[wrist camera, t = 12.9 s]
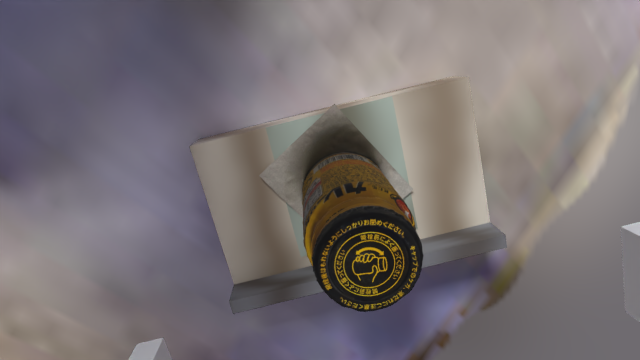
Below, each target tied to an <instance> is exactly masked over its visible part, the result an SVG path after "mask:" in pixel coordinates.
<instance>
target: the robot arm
mask: <svg viewBox="0 0 640 360" xmlns="http://www.w3.org/2000/svg"><path fill="white" fill-rule="evenodd" d="M621 240H622V258H623V277H624V296H625V312H627V313H628V314H629V315H631V316H632V317H633V318H635V319H636V320H637V321H639V322H640V222H638V223H634V224H630V225H625V226H622V227H621ZM128 360H172V358H171V355H170V353H169V350H168V348H167V345H166V343H165V340H164V338H159V339H155V340H151V341H147V342H143V343H139V344H137V345H136V347H135V349H134V350H133V352H132V354H131V356H130V358H129V359H128Z"/></svg>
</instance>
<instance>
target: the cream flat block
mask: <svg viewBox="0 0 640 360" xmlns="http://www.w3.org/2000/svg"><path fill="white" fill-rule="evenodd" d="M336 106H337V107H338V108H339V109H340V110H341V112H342V113H343V114H344V115H345V116H346V117H347V118H348V119H349V120H350V121H351V122H352V123H353V124H354V125H355V127H356V128H357V129H358V130H359V131H360V132H361V133H362V134H363V135H364V136H365V138H366V139H367V140H368V141H369V142H370V143H371V144H372V145H373V146H374V147H375V148H376V149H377V150H378V151H379V153H380V154H381V155H382V156H383V157H384V158H385V159H386V160H387V161H388V162H389V163H390V164H391V166H392V167H393V168H394V169H395V170H396V171H397V172H398V173H399V174H400V175H401V176H402V177H403V178H404V180H405V181H406V182H407V183H408V184H409V185H410V186H411V187H412V188H413V190H412V191H411V192H410V193H409V194H408V195H407V196H405V197H404V198H403V200H404V201H405V203H406V204H407V206H408V208H409V209H410V211H411V213H412V215H413V217H414V222H415V227H416V232H417V234H418V236H419V238H420V240H421V243H422V251H423V255H424V256H423V261H422V268H424V267H428V266H432V265H436V264H441V263H445V262H449V261H453V260H457V259H461V258H465V257H469V256H474V255H478V254H482V253H486V252H490V251H494V250H498V249H502V248H507V244H506V236H505V234H504V233H503V232H501V231H500V230H499V229H498V228H497V227H495V226H494V225H493V224H492V223H490V218H489V211H488V205H487V198H486V191H485V184H484V177H483V170H482V164H481V157H480V150H479V143H478V136H477V129H476V122H475V116H474V109H473V102H472V95H471V88H470V81H469V77H459V76H453V77H449V78H445V79H440V80H436V81H432V82H428V83H424V84H420V85H416V86H412V87H408V88H404V89H400V90H396V91H392V92H388V93H384V94H380V95H376V96H372V97H368V98H364V99H360V100H356V101H352V102H348V103H343V104H339V105H336ZM331 107H332V106H331ZM331 107H327V108H323V109H319V110H315V111H311V112H307V113H303V114H299V115H295V116H291V117H287V118H283V119H279V120H275V121H271V122H267V123H263V124H259V125H255V126H251V127H247V128H242V129H238V130H234V131H230V132H226V133H222V134H218V135H214V136H210V137H206V138H202V139H198V140H197V141H196V142H194V143H193V144H192V145H190V146H189V147H190V150H191V153H192V156H193V159H194V163H195V166H196V169H197V172H198V175H199V178H200V181H201V184H202V187H203V190H204V193H205V196H206V200H207V203H208V206H209V209H210V212H211V215H212V218H213V221H214V224H215V227H216V230H217V234H218V237H219V240H220V243H221V246H222V249H223V252H224V255H225V258H226V261H227V264H228V267H229V271H230V274H231V277H232V280H233V283H234V287H233V290H232V293H231V297H230V300H229V303H230V306H231V309H232V312H233V314H235V313H239V312H243V311H247V310H251V309H255V308H259V307H263V306H268V305H272V304H276V303H280V302H284V301H288V300H292V299H296V298H301V297H305V296H309V295H313V294H317V293H321V292H324V291H323V289H321V287H320V285H319V283H318V282H317V281H316V279H317V278H316V277H315V273H314V272H313V267H312V265H311V263H310V260H309V258H308V257H307V253H306V249H305V247H304V242H303V240H304V237H303V218H302V217H301V216H300V215H299V214H298V213H297V212H296V211H295V210H294V209H293V208H292V207H291V206H290V205H289V204H288V203H287V202H286V201H285V200H284V199H283V198H281V197H280V196H279V195H278V194H277V193H276V192H275V191H274V190H273V189H272V188H271V187H270V186H269V185H268V184H267V183H266V182H265V181H264V180H263V179H262V178H261V177H260V176H259V175H260V174H261V173H262V172H263V171H264V170H265V169H266V168H267V167H269V166H270V165H271V164H272V163H273V162H274V161H275V160H276V159H277V158H278V157H279V156H280V155H281V154H282V153H283V152H284V151H285V150H286V149H287V148H288V147H289V146H290V145H291V144H292V143H294V142H295V141H296V140H297V139H298V138H299V137H300V136H301V135H302V134H303V133H304V132H305V131H306V130H307V129H308V128H309V127H311V125H313V124H314V123H315V122H316V121H317V120H318V119H319V118H320V117H321V116H322V115H323V114H324V113H325V112H326V111H327V110H328V109H330V108H331Z"/></svg>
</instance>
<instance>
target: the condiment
mask: <svg viewBox="0 0 640 360" xmlns="http://www.w3.org/2000/svg"><path fill="white" fill-rule="evenodd" d="M259 176H260V177H261V178H262V179H263V180H264V181H265V182H266V183H267V184H268V185H269V186H270V187H271V188H272V189H273V190H274V191H275V192H276V193H277V194H278V195H279V196H280V197H281V198H283V199H284V200H285V201H286V202H287V203H288V204H289V205H290V206H291V207H292V208H293V209H294V210H295V211H296V212H297V213H298V214H299V215H300V216H301V217H302V218H303V237H304V240H303V242H304V247H305V249H306V253H307V257H308V258H309V260H310V263H311V265H312V267H313V272H314V273H315V277H316V278H317V279H316V281H317V282H318V283H319V285H320V287H321V289H323V291H324V292H325V293H326V294H328V296H329V297H330V298H331V299H333V300H334V301H335V302H336V303H338V304H340V305H341V306H343V307H348V308H352V309H355V310H357V311H363V312H366V311H375V310H379V309H383V308H386V307H389V306H391V305H393V304H394V303H396V302H397V301H398V300H400V299H401V298H402V297H404V296H405V295H407V294H408V293H409V292H410V291H411V290H412V288H413V287H414V285H415V283H416V281H417V280H418V278H419V275H420V272H421V268H422V261H423V256H424V255H423V251H422V243H421V240H420V238H419V236H418V234H417V232H416V227H415V222H414V217H413V215H412V213H411V211H410V209H409V208H408V206H407V204H406V203H405V201H404V200H403V198H404V197H405V196H407V195H408V194H409V193H410V192H411V191H412V190H413V188H412V187H411V186H410V185H409V184H408V183H407V182H406V181H405V180H404V178H403V177H402V176H401V175H400V174H399V173H398V172H397V171H396V170H395V169H394V168H393V167H392V166H391V164H390V163H389V162H388V161H387V160H386V159H385V158H384V157H383V156H382V155H381V154H380V153H379V151H378V150H377V149H376V148H375V147H374V146H373V145H372V144H371V143H370V142H369V141H368V140H367V139H366V138H365V136H364V135H363V134H362V133H361V132H360V131H359V130H358V129H357V128H356V127H355V125H354V124H353V123H352V122H351V121H350V120H349V119H348V118H347V117H346V116H345V115H344V114H343V113H342V112H341V110H340V109H339V108H338V107H337V106H336V105H335V104H334V105H333V106H332V107H331V108H330V109H328V110H327V111H326V112H325V113H324V114H323V115H322V116H321V117H320V118H319V119H318V120H317V121H316V122H315V123H314V124H313V125H311V127H309V128H308V129H307V130H306V131H305V132H304V133H303V134H302V135H301V136H300V137H299V138H298V139H297V140H296V141H295V142H294V143H292V144H291V145H290V146H289V147H288V148H287V149H286V150H285V151H284V152H283V153H282V154H281V155H280V156H279V157H278V158H277V159H276V160H275V161H274V162H273V163H272V164H271V165H270V166H269V167H267V168H266V169H265V170H264V171H263V172H262V173H261V174H260V175H259Z"/></svg>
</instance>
